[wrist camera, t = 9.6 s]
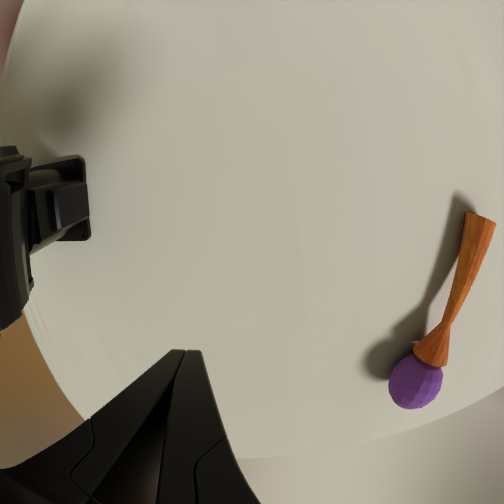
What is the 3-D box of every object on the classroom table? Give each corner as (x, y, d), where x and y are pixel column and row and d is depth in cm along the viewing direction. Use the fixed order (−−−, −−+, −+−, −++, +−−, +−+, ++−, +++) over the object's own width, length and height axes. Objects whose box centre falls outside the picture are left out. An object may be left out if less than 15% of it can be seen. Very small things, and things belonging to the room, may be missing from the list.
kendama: (515, 233, 16) (433, 412, 21) (471, 218, 21) (405, 382, 26) (494, 217, 14) (398, 426, 19) (442, 203, 20) (369, 389, 25)
